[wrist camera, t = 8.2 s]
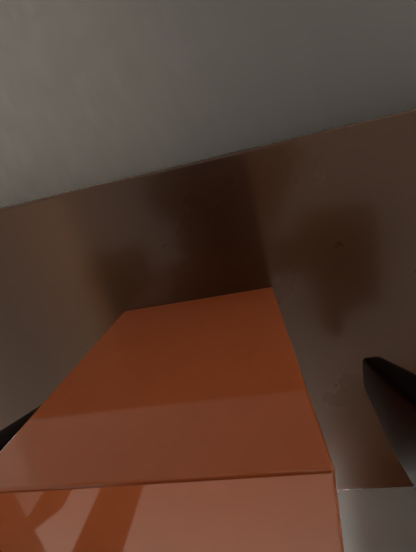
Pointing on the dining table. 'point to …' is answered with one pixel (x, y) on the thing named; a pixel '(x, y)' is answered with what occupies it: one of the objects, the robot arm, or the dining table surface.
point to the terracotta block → (176, 441)
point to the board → (233, 269)
